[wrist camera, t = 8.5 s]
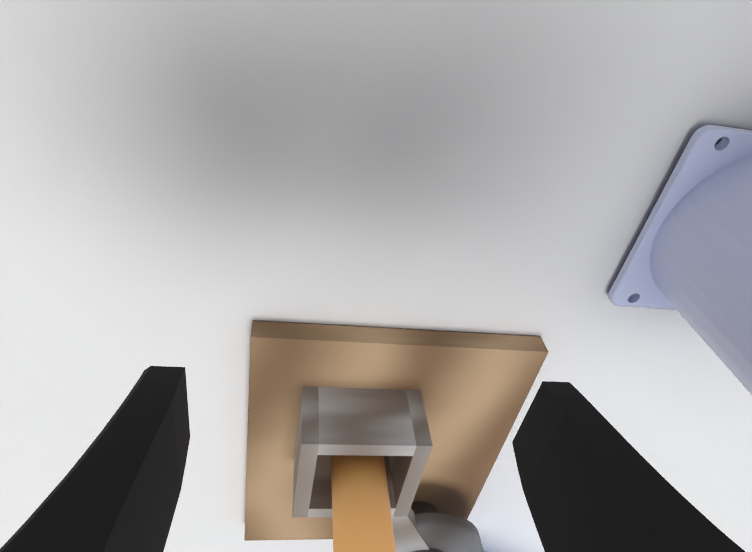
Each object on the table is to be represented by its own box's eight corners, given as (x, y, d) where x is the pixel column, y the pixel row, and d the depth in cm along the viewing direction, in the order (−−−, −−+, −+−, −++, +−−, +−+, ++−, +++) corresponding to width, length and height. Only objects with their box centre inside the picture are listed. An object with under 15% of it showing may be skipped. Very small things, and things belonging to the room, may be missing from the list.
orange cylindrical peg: (377, 405, 24) (396, 559, 19) (382, 436, 26) (401, 589, 20) (325, 412, 24) (329, 569, 19) (333, 443, 26) (339, 598, 20)
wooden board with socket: (540, 336, 24) (603, 459, 19) (451, 529, 34) (476, 645, 28) (252, 320, 22) (234, 455, 17) (246, 532, 31) (233, 659, 26)
